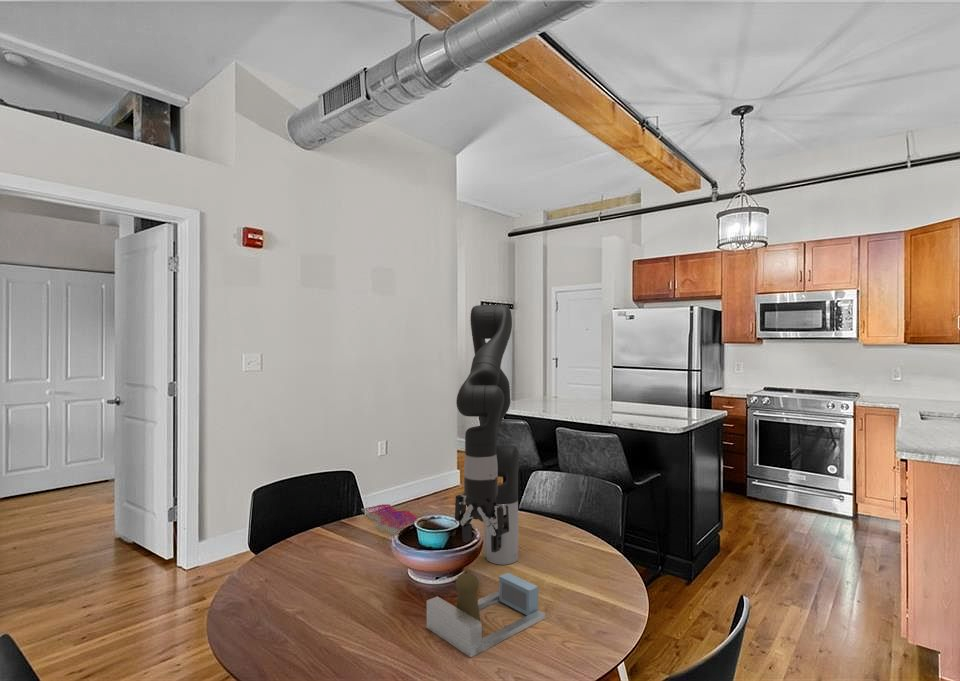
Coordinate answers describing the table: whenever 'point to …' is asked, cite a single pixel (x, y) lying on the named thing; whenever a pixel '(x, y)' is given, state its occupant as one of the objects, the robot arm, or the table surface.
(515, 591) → the free jaw
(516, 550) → the robot arm
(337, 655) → the table surface
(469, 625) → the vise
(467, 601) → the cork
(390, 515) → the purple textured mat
